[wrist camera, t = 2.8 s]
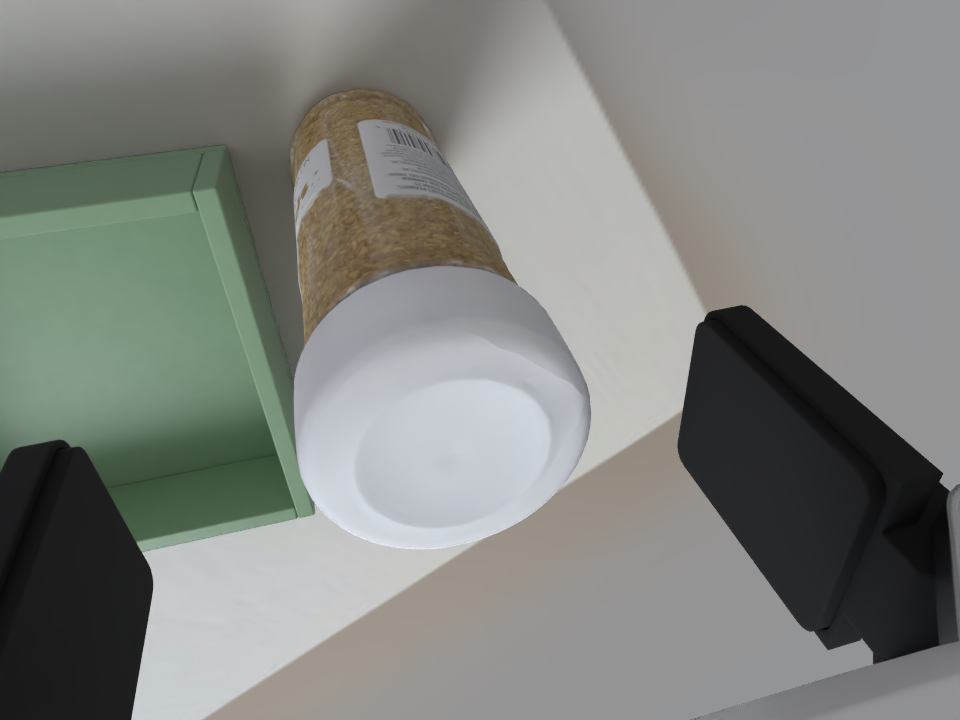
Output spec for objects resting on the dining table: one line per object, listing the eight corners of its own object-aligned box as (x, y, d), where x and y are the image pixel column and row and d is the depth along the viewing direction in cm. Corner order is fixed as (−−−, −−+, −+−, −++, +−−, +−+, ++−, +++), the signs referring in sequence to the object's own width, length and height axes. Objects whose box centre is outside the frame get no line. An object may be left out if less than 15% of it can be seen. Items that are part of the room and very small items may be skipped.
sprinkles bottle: (256, 145, 19) (221, 455, 9) (383, 51, 19) (511, 262, 8) (352, 257, 22) (415, 598, 11) (465, 179, 22) (643, 463, 11)
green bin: (226, 144, 19) (216, 186, 16) (312, 449, 26) (315, 515, 24) (-257, 204, 17) (-361, 264, 14) (-22, 516, 24) (-61, 596, 22)
